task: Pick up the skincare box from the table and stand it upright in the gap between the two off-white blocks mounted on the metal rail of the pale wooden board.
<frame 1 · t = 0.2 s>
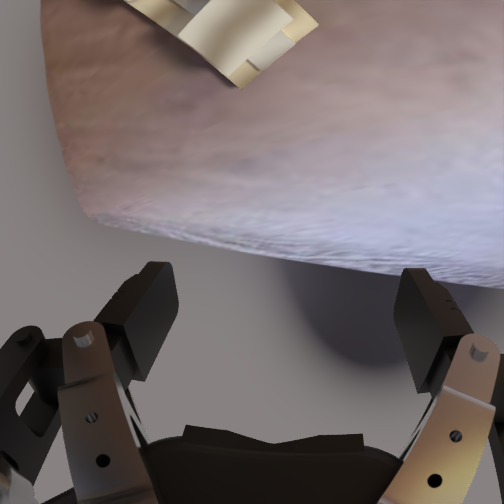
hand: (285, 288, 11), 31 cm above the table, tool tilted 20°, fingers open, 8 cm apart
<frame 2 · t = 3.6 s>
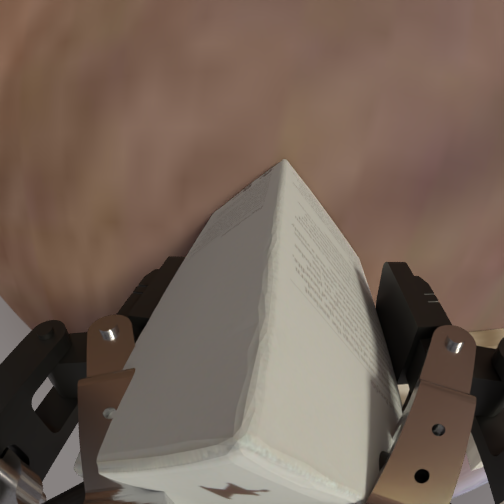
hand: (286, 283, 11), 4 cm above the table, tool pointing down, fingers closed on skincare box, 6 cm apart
skincare box: (289, 235, 14), on the table, touching gripper
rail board: (442, 392, 18), on the table
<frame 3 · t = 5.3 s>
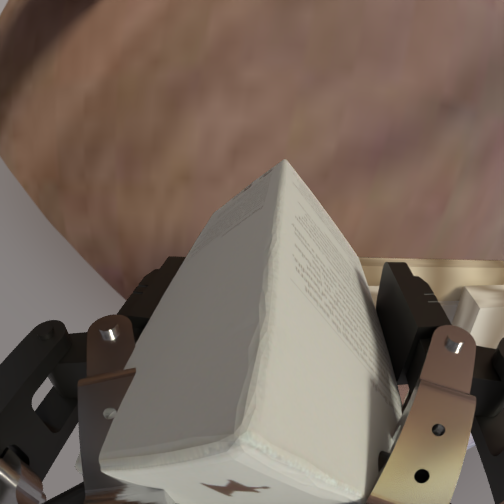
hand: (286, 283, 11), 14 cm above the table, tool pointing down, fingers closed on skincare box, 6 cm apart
skincare box: (289, 235, 14), point 10 cm above the table, touching gripper
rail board: (413, 314, 27), on the table
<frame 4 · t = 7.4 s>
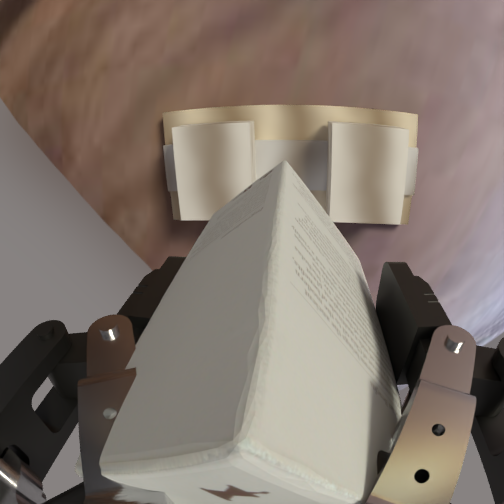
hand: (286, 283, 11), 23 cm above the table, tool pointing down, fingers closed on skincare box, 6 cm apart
skincare box: (289, 236, 14), point 19 cm above the table, touching gripper
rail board: (291, 161, 32), on the table
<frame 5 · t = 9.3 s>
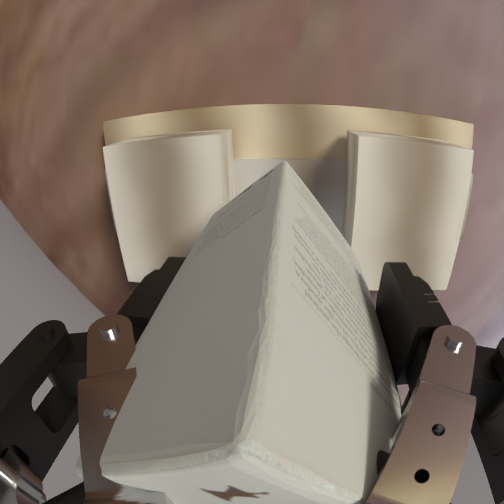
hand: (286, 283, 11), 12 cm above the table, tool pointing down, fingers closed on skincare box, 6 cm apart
skincare box: (289, 236, 14), point 8 cm above the table, touching gripper
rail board: (290, 189, 22), on the table
when the fingers open (8 cm above the table, at t = 10.9 s): skincare box drops 2 cm, resting on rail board.
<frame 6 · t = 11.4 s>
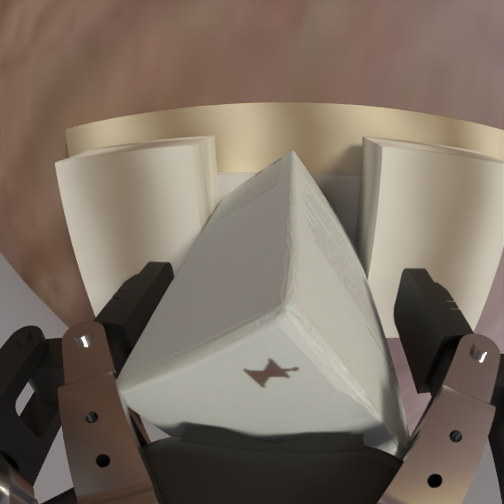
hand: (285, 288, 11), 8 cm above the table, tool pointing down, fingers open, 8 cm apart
skincare box: (292, 219, 16), point 2 cm above the table, touching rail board
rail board: (289, 209, 18), on the table
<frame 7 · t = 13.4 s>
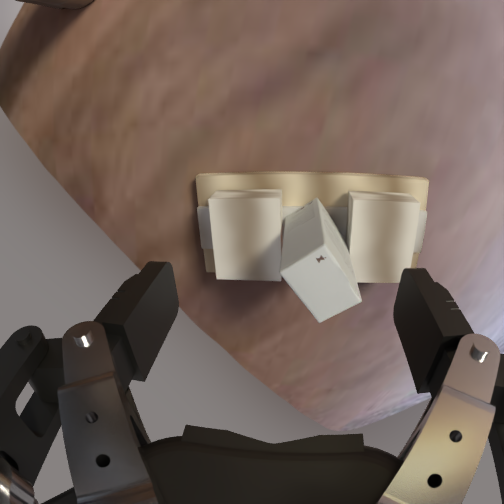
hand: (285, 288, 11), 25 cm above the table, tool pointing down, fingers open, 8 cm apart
skincare box: (316, 228, 34), point 2 cm above the table, touching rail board
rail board: (313, 223, 36), on the table
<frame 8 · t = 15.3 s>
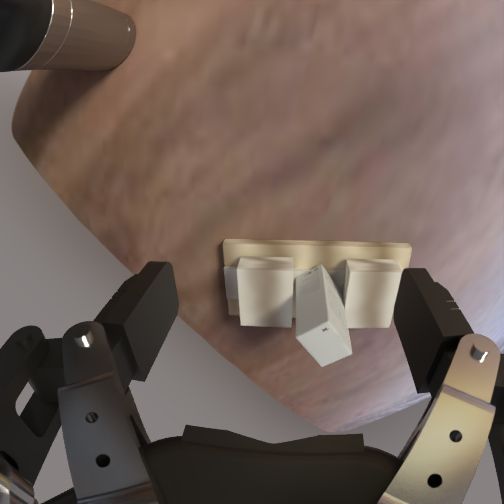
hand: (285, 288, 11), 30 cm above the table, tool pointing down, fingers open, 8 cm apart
skincare box: (319, 285, 43), point 2 cm above the table, touching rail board
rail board: (317, 278, 45), on the table
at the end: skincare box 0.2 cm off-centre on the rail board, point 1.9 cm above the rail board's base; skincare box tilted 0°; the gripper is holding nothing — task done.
